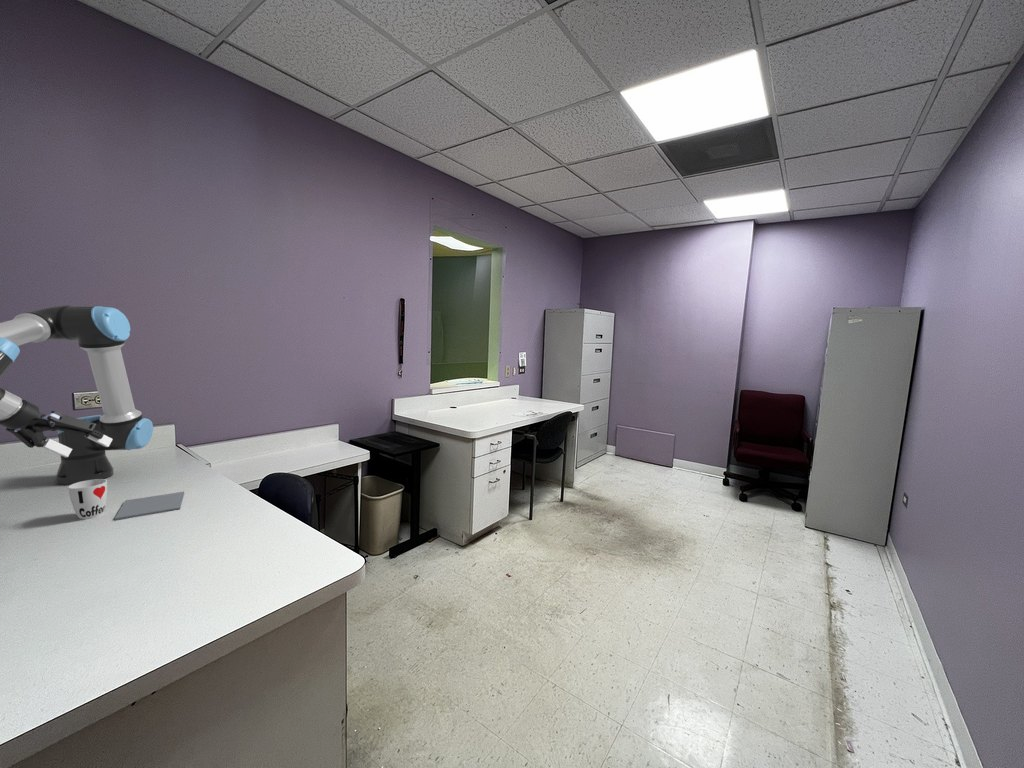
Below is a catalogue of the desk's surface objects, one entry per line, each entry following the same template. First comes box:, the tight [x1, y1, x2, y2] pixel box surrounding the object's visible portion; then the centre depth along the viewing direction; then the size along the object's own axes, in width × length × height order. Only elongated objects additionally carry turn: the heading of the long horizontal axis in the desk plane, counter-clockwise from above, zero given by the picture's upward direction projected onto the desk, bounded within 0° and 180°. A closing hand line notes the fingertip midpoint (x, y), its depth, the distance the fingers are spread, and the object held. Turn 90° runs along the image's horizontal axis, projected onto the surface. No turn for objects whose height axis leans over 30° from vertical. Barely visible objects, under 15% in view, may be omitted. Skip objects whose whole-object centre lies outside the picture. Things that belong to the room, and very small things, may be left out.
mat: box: [114, 491, 185, 521], centre depth 132 cm, size 16×15×1 cm
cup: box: [67, 478, 108, 520], centre depth 123 cm, size 8×8×10 cm
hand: (89, 448), depth 125 cm, fingers open, 13 cm apart
